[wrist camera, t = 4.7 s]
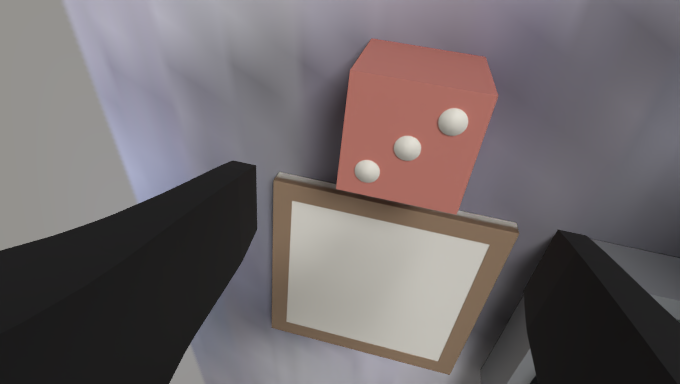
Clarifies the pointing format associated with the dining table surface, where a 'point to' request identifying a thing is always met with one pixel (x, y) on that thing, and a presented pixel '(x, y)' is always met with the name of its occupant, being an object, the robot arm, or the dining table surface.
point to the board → (381, 271)
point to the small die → (414, 124)
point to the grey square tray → (513, 345)
